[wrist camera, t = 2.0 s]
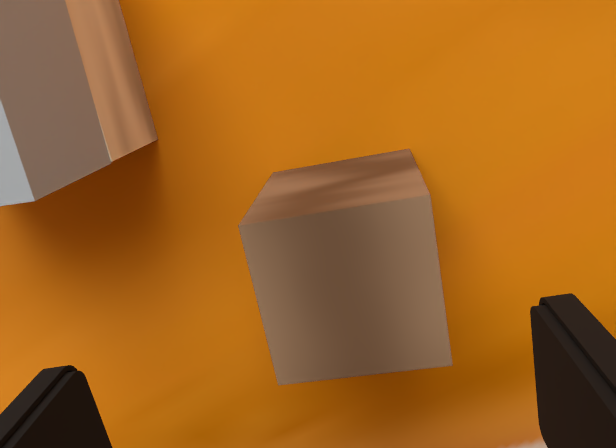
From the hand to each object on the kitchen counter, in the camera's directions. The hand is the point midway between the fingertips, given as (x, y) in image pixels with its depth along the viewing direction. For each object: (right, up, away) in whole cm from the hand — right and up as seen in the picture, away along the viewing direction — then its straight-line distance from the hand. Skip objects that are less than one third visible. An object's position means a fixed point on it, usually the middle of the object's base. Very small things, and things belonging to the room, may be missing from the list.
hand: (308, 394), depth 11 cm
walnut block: (+2, +3, +9) cm, 10 cm away
